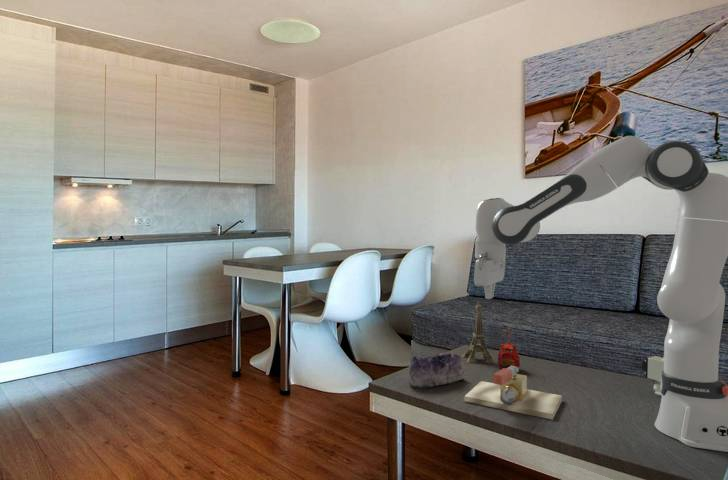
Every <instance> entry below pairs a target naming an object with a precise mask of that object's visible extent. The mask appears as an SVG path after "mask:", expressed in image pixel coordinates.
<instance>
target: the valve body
mask: <svg viewBox="0 0 728 480" xmlns="http://www.w3.org/2000/svg"><path fill="white" fill-rule="evenodd" d="M527 385H528V375H524V374H519V373H517V376H516V377H513V376H512V379H511V380H509V381H508V382H506V383H505V384H504V385H500V399H501V401H502V402H503V403H504V404H506V405H510V404H511V403H512V402H516V400H517V401H522V400H523V399H524V397H525V396H526V395H527V387H528V386H527Z"/></svg>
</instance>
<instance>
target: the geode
mask: <svg viewBox="0 0 728 480" xmlns="http://www.w3.org/2000/svg"><path fill="white" fill-rule="evenodd" d="M461 357H462V356H460V355H458V354H456V353H455V354H453V356H452V354H451V353H440V354H436V355H435V356H428V357H424V358H418V357H417V356H415V355H414V356H413V358H412V363H411V366H410V368H409V372H408V373H409V376H408V378H409V379H408V381H409V382H408V383H409V385H410V387H411V388H413V387H415V388H414V389H430V388H433V387H437V386H443V385H447V384H452V383H455V382H459V381H460V380H463V379H464V375H465V374H464V372H465V371H464V368H463V366H462V364H461V363H462V358H461Z"/></svg>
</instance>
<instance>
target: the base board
mask: <svg viewBox="0 0 728 480" xmlns="http://www.w3.org/2000/svg"><path fill="white" fill-rule="evenodd" d="M463 399H464V400H463V401H464V402H466V403H471V404H476V405H481V406H485V407H488V408H489V407H490V408H495V409H500V410H505V411H509V412H514V413H519V414H524V415H529V416H534V417H538V418H543V419H549V420H552V421H553V420H554V418H555V416H556V414H557V411H558V410H559V408H560V406H561V404H562V401H563V395H560V394H554V393H551V392H545V391H544V392H543V391H540V390H539V391H538V390H533V389H527V395H526V396H525V397H524V399H523V400H522V401H517V400H516V402H512V403H511V404H510V405H506V404H504V403H503V402H502V401H501V399H500V385H498V384H494V382H488V381H483V380H480V381H479V382H478V383H477V384H476V385H475V386H474V387H473V388H471V390H470V391H469V392H468V393H466V394H465V395H464V398H463Z"/></svg>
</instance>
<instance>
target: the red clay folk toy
mask: <svg viewBox="0 0 728 480" xmlns="http://www.w3.org/2000/svg"><path fill="white" fill-rule="evenodd" d="M506 332H507V338H508V339H507V344H505V343H502V344H501V345H500V348H499V350H498V354H497V366H498V369H499V370H501V369H503V368H505V369H506V368H508V367H510V366H516V367H518V368H519V369H520V367H521V361H520V359H521V358H520V354H519V352H518V350H517V346H516V345H515V344H511V341H510V338H511V335H510V326H509V325H508V326H507V330H506V329H502V333H506Z"/></svg>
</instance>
